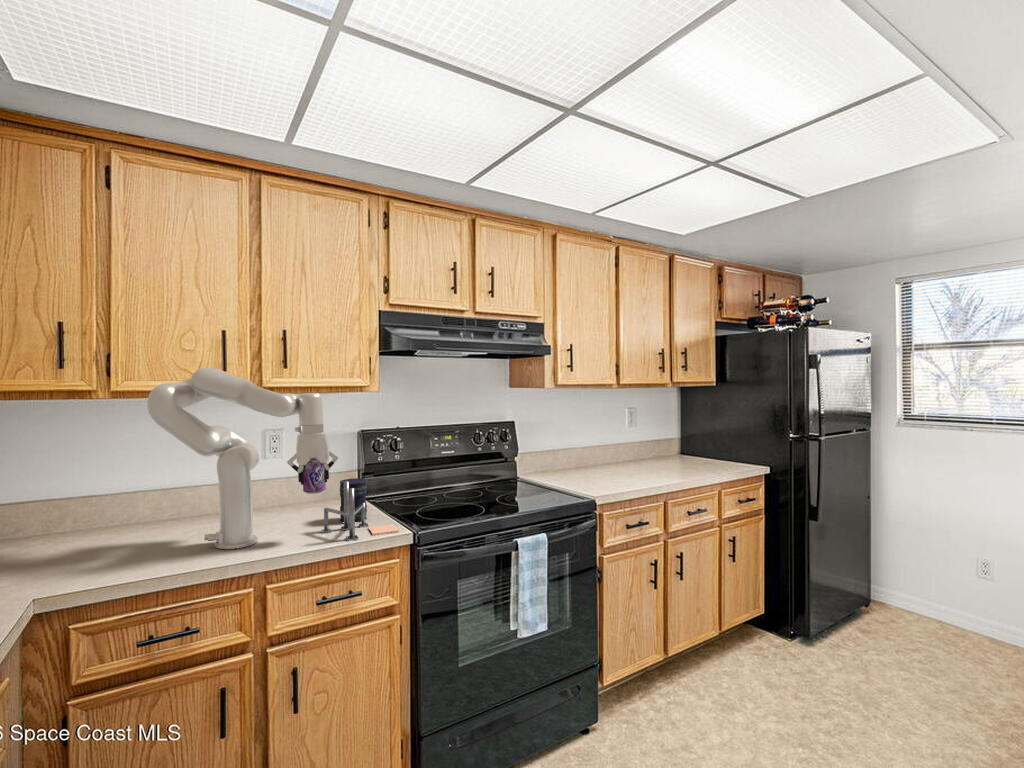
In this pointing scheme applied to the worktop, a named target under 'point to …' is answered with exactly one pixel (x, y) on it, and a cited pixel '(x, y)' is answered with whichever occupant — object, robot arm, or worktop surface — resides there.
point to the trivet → (383, 529)
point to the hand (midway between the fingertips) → (313, 482)
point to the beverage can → (313, 476)
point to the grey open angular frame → (347, 513)
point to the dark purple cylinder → (355, 496)
